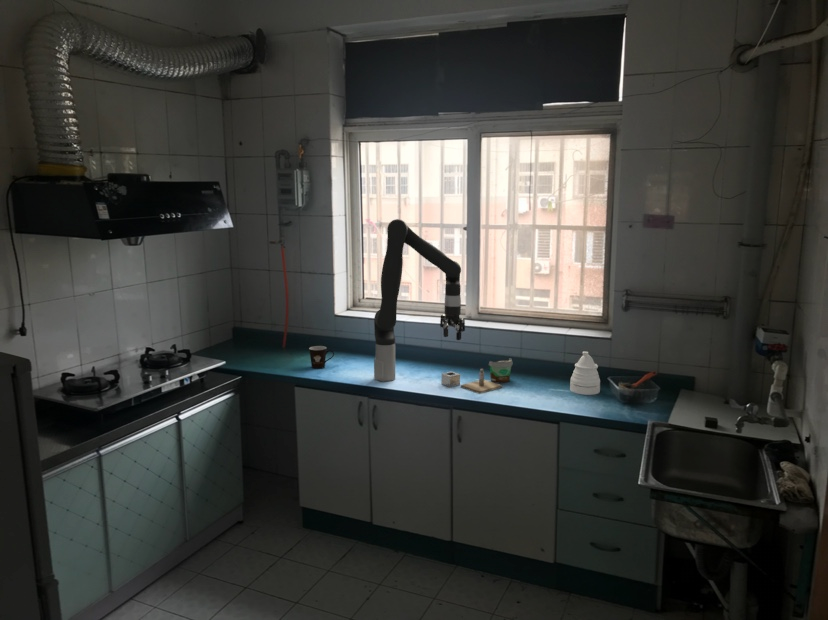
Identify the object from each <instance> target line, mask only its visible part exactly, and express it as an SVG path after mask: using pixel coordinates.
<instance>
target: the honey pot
mask: <svg viewBox="0 0 828 620" xmlns="http://www.w3.org/2000/svg"><path fill="white" fill-rule="evenodd" d="M574 367H575V368H574V370H573V371H572V372H573V373H572V375H571V377H570V382H569V383H570V384H569V390H570V391H571V392H572V393H574V394H578V395H585V396H587V395H588V396H591V395H597V394H600V391H601V379H600V375H599V372H598V370H597V369H598V367H599V365H598V364H597V363H595V361H594V358H593V357H592V356H591V355H590V354H589V351H582V355H581V357H580V358H579V359H578V361H577V362H576V363H575V364H574Z"/></svg>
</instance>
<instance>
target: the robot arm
mask: <svg viewBox="0 0 828 620" xmlns="http://www.w3.org/2000/svg"><path fill="white" fill-rule="evenodd" d="M386 232H387V238H386V239H387V241H386V243H387V244H386V245H387V246H386V251H385V255H384V259H383V264H382V267H381V269H382V270H381V275H380V293H381V295H380V296H381V301H380V307H379V310H377V311H376V312H375V314H374V319H373V320H374V323H373V325H374V338H375V339H374V341H375V358H374V360H373V374H374V375H373V378H374V380H377V381H380V382H390V381H394V380H395V379H396V336H395V330H394V329H395V326H396V323H397V309H398V307H397V306H398V305H397V304H398V298H399V292H400V288H401V281H402V276H403V275H402V273H403V266H404V265H403V261H404V260H403V258H404V257H403V255H404V254H403V252H404V246H405V244H406V245H407V246H409V247H410V248H412V249H413V250H414V251H415V252H417V253H418V254H419V255H420V256H421V257H423V259H425V260H426V261H428V262H429V263H430V264H432V265H434V266H435V267H437V268H438V269H439V270H440V271H442V272H443V273H444V274H445V288H444V289H445V290H444V291H445V292H444V295H445V296H444V314H440V321H439V322H440V323H439V326H440V328H442V329H443V330H442V331H443V337H445V338H447V337H449V327H453V328H454V329H455V331H456V338H455V340H456V341H461V339H462V332H465V331H466V323H465V322H466V319H465V318H461V317H460V315H461V313H462V312H461V309H462V307H461V306H462V305H461V304H462V300H461V299H462V298H461V281H460V280H461V272H462V267H461V264H459V263H458V262H457V261H455V260H452V259H451V258H450V257H448V256H447V255H446V254H445V253H444V252H443V251H441V250H440V249H439V248H437V247H436V246H435V245H433V244H431V243H430V242H428V241H427V240H425V239H424V238H422V237H421V236H419V235H418V234H417V233H416V232H414V231H413V230H412V229H411V228H410V227H409V226H408V225H407V223H406V222H405V221H404V220H402V219H400V218H396V219H393V220H391V221H389V223H388V225H387V230H386Z"/></svg>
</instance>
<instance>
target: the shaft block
mask: <svg viewBox="0 0 828 620" xmlns="http://www.w3.org/2000/svg"><path fill="white" fill-rule="evenodd" d="M478 376H479V377H478V380H476V381H472V382H468V383H463V384H460V387H461V388H462V389H466V390H469V391H472V392H474V393H477V394H483V393H487V392H490V391H494V390H498V389H501V388H503V385H502V384H500V383H495V382H491V380H490V381H489V380H486V379H485V371H484V368H480V369H479V374H478Z"/></svg>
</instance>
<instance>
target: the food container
mask: <svg viewBox="0 0 828 620" xmlns="http://www.w3.org/2000/svg"><path fill="white" fill-rule="evenodd" d="M513 364H514V363H513V360H512V358H511V357H510V358H508V359H507V360H497V361H491V360H489V362H488V366H489V373H490V382H493V383H496V384H507V383H509V382H510V379H511V373H512V372H511V371H512V370H511V369H512V366H513Z"/></svg>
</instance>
